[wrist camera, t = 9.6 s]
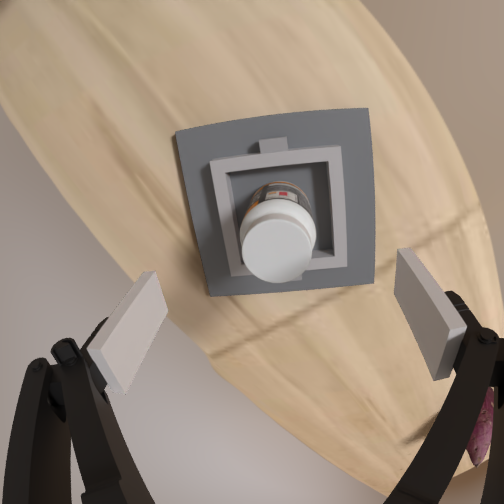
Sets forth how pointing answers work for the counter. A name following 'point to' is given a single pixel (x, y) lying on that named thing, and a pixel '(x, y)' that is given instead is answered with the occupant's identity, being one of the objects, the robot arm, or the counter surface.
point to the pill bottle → (278, 233)
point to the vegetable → (482, 430)
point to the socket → (289, 170)
